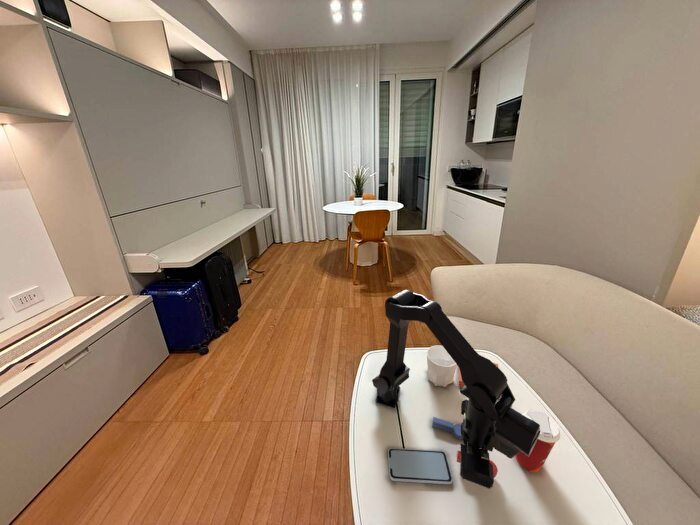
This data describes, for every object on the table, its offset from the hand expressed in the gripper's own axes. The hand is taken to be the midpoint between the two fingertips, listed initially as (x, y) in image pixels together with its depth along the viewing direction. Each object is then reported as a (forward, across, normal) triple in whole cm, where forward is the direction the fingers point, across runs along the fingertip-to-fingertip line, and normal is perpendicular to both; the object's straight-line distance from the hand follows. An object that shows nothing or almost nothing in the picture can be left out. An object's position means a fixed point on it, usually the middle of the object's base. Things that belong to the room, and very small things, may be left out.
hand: (470, 460), depth 65 cm
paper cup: (+3, +7, -14) cm, 16 cm away
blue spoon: (+3, +8, +5) cm, 10 cm away
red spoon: (+1, 0, -2) cm, 2 cm away
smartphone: (+3, -4, +12) cm, 13 cm away
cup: (+3, +27, +9) cm, 29 cm away
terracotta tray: (+3, +32, -3) cm, 32 cm away
